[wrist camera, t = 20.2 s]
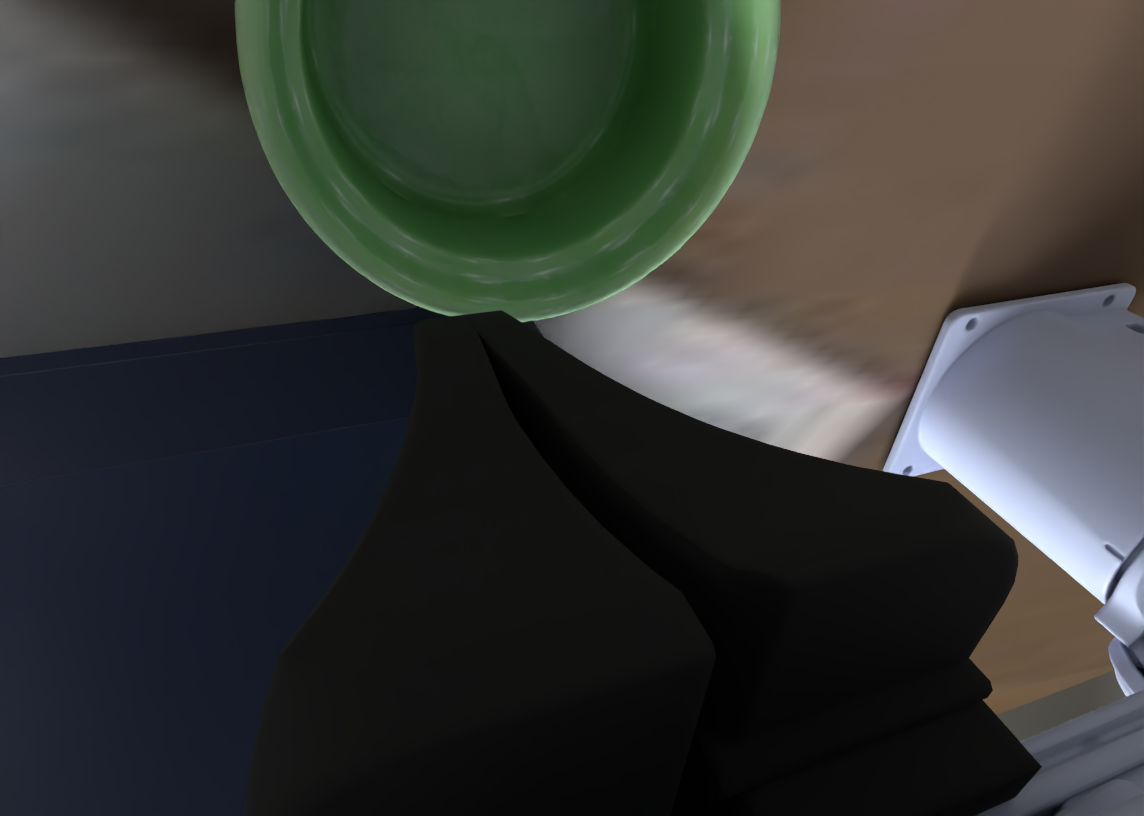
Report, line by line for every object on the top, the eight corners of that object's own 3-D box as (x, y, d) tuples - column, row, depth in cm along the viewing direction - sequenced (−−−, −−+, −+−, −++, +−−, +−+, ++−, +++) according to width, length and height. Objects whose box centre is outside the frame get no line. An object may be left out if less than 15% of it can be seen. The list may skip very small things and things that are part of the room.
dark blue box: (516, 551, 25) (559, 661, 21) (44, 663, 20) (2, 824, 17) (518, 295, 19) (578, 389, 15) (-146, 374, 14) (-270, 531, 11)
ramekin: (720, -180, 14) (866, -200, 11) (620, 247, 19) (699, 325, 15) (216, -347, 10) (202, -450, 7) (254, 231, 15) (256, 327, 12)
